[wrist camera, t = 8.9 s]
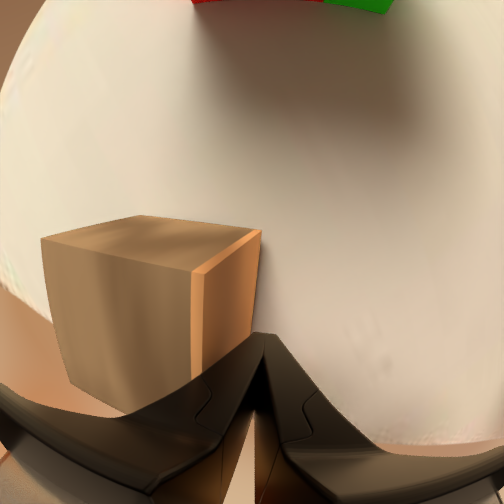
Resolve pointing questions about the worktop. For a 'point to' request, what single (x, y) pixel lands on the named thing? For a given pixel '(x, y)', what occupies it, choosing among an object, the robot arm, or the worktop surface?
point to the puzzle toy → (347, 4)
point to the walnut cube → (148, 303)
